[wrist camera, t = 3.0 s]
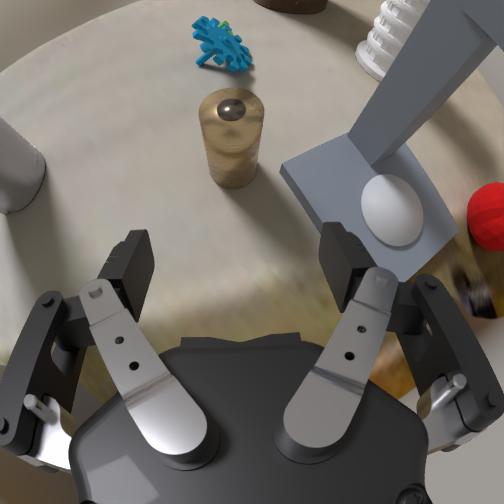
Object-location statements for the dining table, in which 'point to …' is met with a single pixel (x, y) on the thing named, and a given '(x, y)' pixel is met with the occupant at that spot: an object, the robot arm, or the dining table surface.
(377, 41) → the decorative container
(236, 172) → the disc
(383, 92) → the press
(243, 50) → the gear
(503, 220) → the tomato
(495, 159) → the dining table surface
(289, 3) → the wooden container
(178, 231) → the dining table surface
